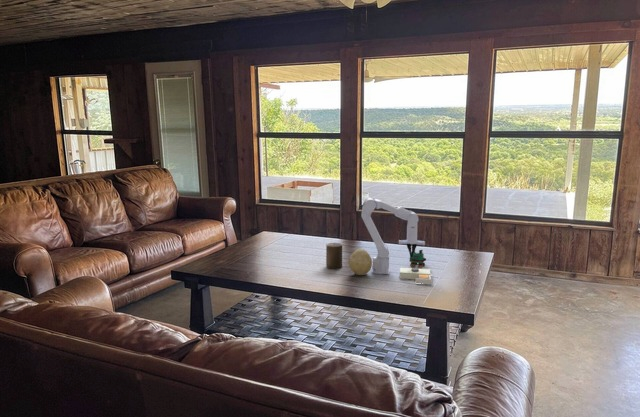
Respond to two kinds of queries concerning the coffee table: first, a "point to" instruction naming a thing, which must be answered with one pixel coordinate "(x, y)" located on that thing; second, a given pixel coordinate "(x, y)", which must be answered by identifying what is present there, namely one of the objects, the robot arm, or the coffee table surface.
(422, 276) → the chute block
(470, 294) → the coffee table surface
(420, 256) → the binoculars
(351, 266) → the fossilized egg
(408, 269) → the white notched block
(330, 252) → the pillar candle
